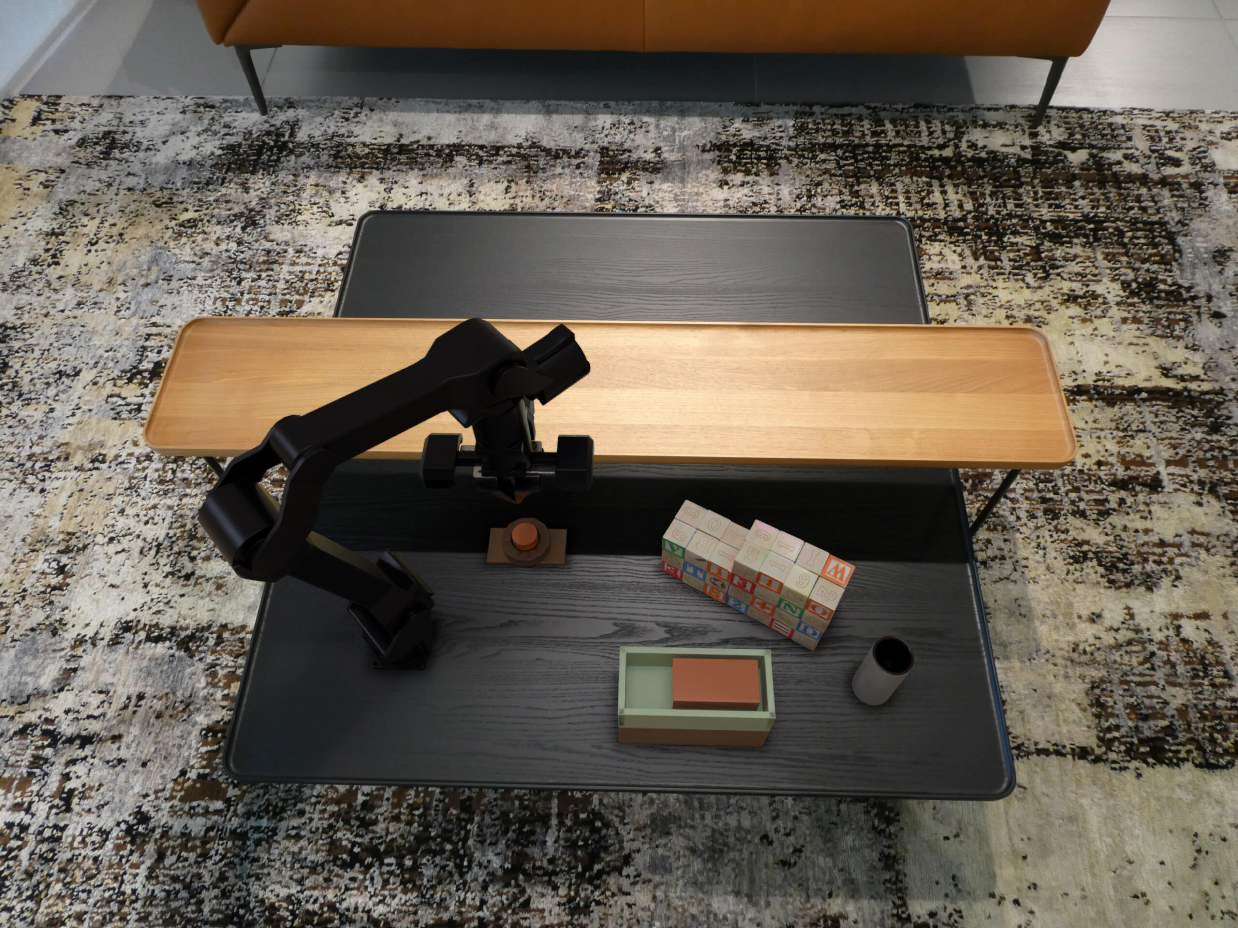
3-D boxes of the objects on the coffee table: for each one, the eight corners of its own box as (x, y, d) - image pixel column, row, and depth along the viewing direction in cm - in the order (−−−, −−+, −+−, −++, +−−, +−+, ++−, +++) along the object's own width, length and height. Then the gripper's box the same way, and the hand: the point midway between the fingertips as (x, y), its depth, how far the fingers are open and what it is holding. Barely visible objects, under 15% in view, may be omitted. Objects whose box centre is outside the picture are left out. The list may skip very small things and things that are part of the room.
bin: (619, 742, 95) (617, 714, 87) (621, 679, 100) (619, 646, 91) (762, 746, 95) (775, 718, 86) (758, 682, 99) (770, 649, 90)
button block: (486, 568, 108) (483, 559, 106) (492, 526, 111) (489, 517, 109) (564, 569, 108) (563, 560, 106) (567, 527, 111) (566, 518, 109)
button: (512, 551, 107) (510, 544, 105) (514, 529, 109) (513, 522, 107) (537, 551, 107) (536, 545, 105) (539, 529, 109) (538, 522, 107)
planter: (849, 667, 100) (869, 634, 91) (887, 668, 100) (911, 635, 91) (853, 705, 97) (875, 674, 89) (893, 706, 97) (918, 675, 89)
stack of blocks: (659, 571, 107) (662, 523, 97) (682, 534, 110) (687, 484, 100) (814, 652, 101) (835, 610, 91) (835, 610, 104) (857, 565, 94)
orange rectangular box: (672, 700, 87) (760, 702, 86) (672, 657, 89) (757, 659, 89) (671, 714, 91) (755, 716, 90) (671, 672, 93) (752, 674, 93)
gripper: (593, 362, 91) (598, 445, 104) (421, 360, 91) (448, 443, 104) (588, 447, 85) (594, 524, 98) (404, 445, 85) (435, 521, 98)
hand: (517, 500), depth 99 cm, fingers closed
